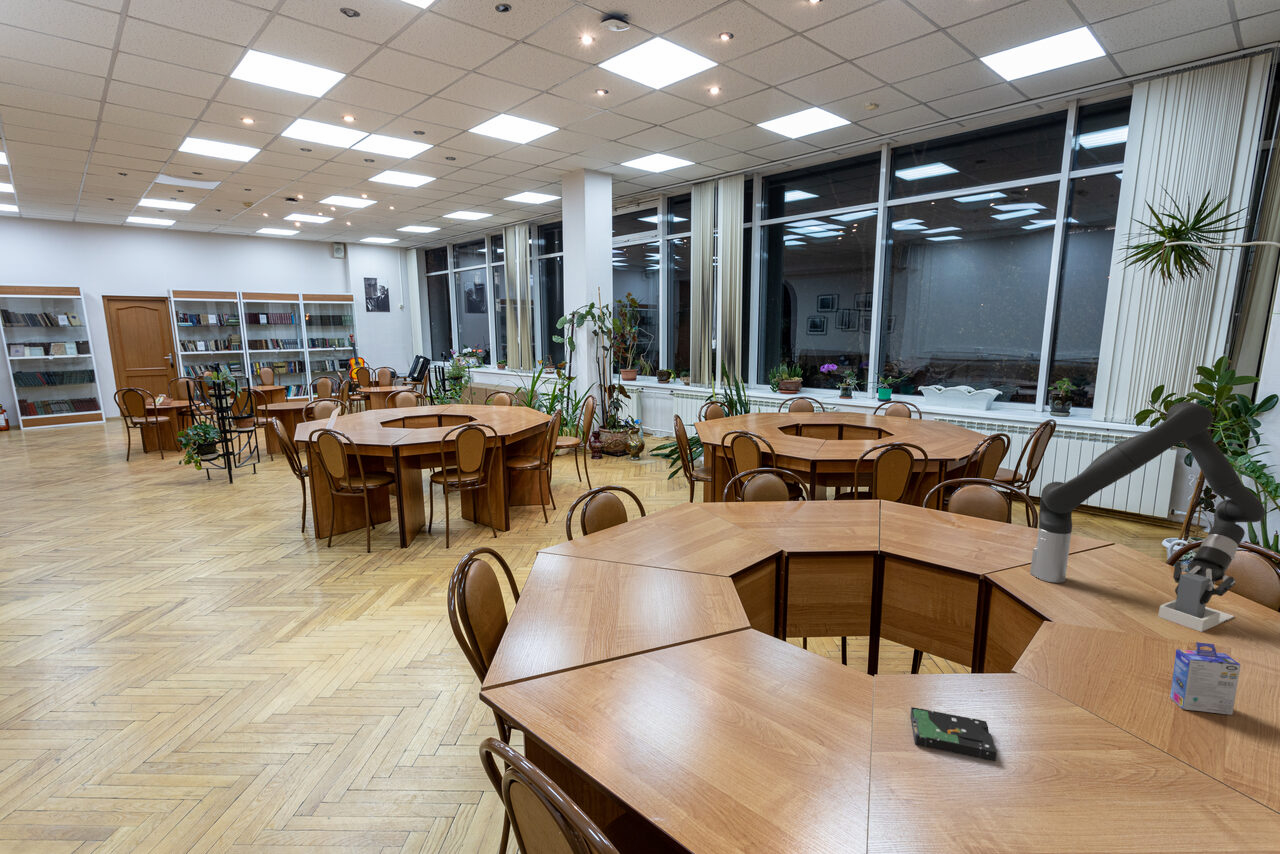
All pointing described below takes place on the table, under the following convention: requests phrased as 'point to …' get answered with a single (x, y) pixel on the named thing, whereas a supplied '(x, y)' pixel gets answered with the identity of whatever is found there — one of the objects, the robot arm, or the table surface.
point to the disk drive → (952, 734)
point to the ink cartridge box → (1205, 680)
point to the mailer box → (1198, 624)
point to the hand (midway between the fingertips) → (1189, 598)
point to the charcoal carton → (1191, 594)
